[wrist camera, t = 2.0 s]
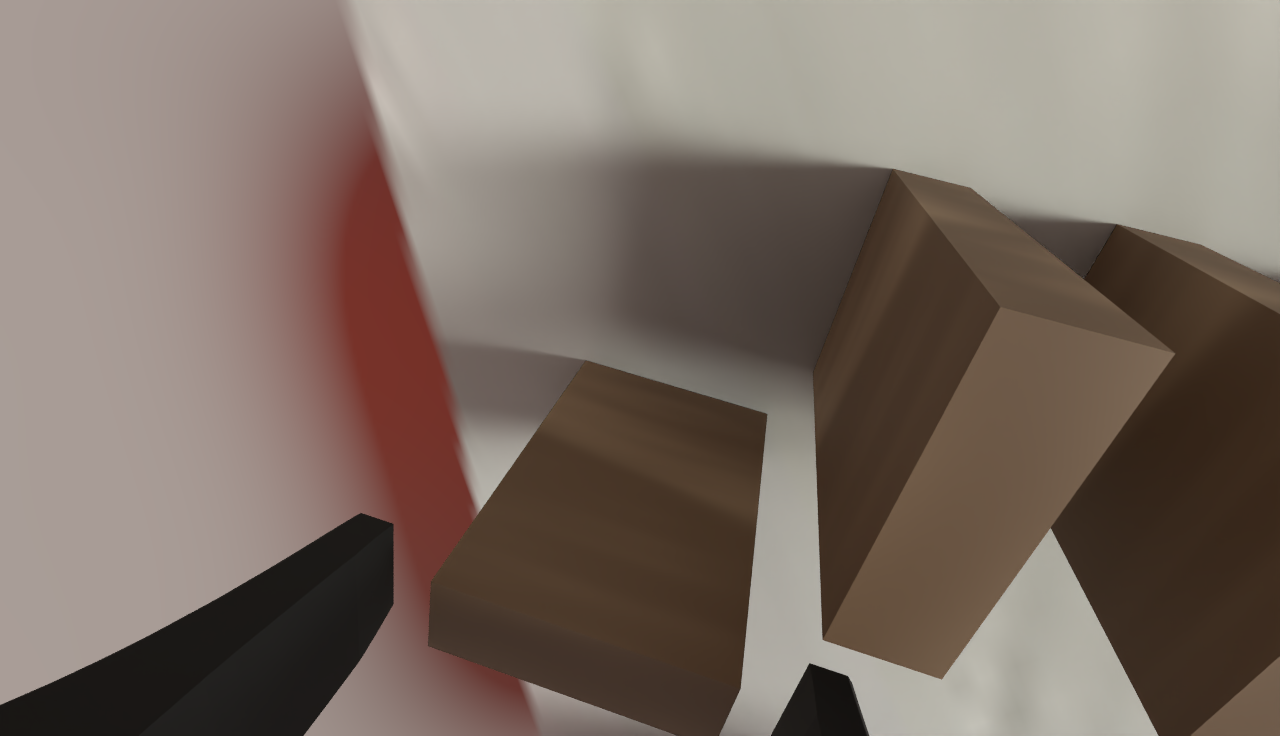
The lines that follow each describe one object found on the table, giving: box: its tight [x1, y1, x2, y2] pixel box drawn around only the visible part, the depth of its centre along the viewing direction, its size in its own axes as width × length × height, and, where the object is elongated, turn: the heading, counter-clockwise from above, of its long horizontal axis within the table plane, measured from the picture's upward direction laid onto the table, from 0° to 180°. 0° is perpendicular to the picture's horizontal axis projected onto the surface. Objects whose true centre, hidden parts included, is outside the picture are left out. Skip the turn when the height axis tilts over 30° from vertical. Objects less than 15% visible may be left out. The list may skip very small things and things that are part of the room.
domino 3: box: [1051, 224, 1280, 736], centre depth 10 cm, size 2×5×8 cm, turn 169°
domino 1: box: [428, 361, 767, 736], centre depth 13 cm, size 2×5×8 cm, turn 79°
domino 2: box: [813, 169, 1175, 679], centre depth 11 cm, size 2×5×8 cm, turn 169°
